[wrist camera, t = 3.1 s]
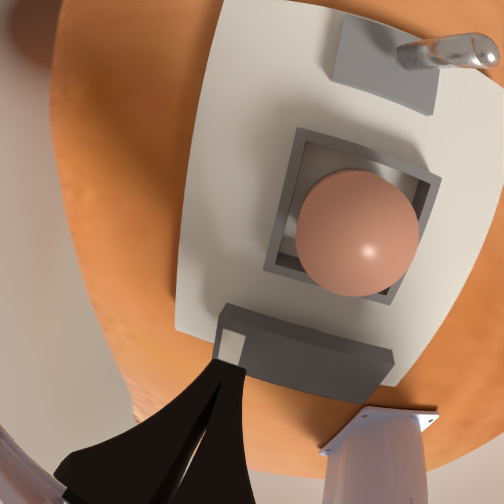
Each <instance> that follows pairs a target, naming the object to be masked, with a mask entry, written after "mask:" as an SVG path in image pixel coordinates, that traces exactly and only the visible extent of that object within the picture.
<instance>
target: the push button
mask: <svg viewBox="0 0 504 504" xmlns="http://www.w3.org/2000/svg"><path fill="white" fill-rule="evenodd" d="M418 243H419V225H418V220H417V216H416V213H415V211H414V209H413V207H412V205H411V203H410V202H409V200H408V199H407V197H406V196H405V195H404V194H403V193H402V192H401V191H400V190H399V189H398V188H397V187H395V186H394V185H392V184H391V183H389V182H388V181H386V180H384V179H383V178H381V177H380V176H378V175H376V174H375V173H372V172H370V171H368V170H364V169H359V168H344V169H339V170H336V171H333V172H330V173H328V174H326V175H325V176H323V177H321V178H320V179H319V180H318V181H317V182H315V183H314V185H313V186H312V187H311V188H310V189H309V191H308V192H307V194H306V196H305V198H304V200H303V203H302V206H301V210H300V215H299V219H298V224H297V229H296V248H297V253H298V256H299V259H300V262H301V264H302V266H303V268H304V269H305V271H306V272H307V274H308V275H309V276H310V277H311V278H312V279H313V280H314V281H315V282H316V283H317V284H318V285H320V286H321V287H323V288H324V289H326V290H328V291H330V292H333V293H336V294H339V295H343V296H351V297H360V296H367V295H371V294H375V293H378V292H380V291H383V290H384V289H386V288H388V287H390V286H391V285H393V284H394V283H395V282H397V281H398V280H399V279H400V278H401V277H402V276H403V275H404V274H405V272H406V271H407V270H408V268H409V267H410V265H411V263H412V261H413V259H414V257H415V254H416V252H417V247H418Z"/></svg>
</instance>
